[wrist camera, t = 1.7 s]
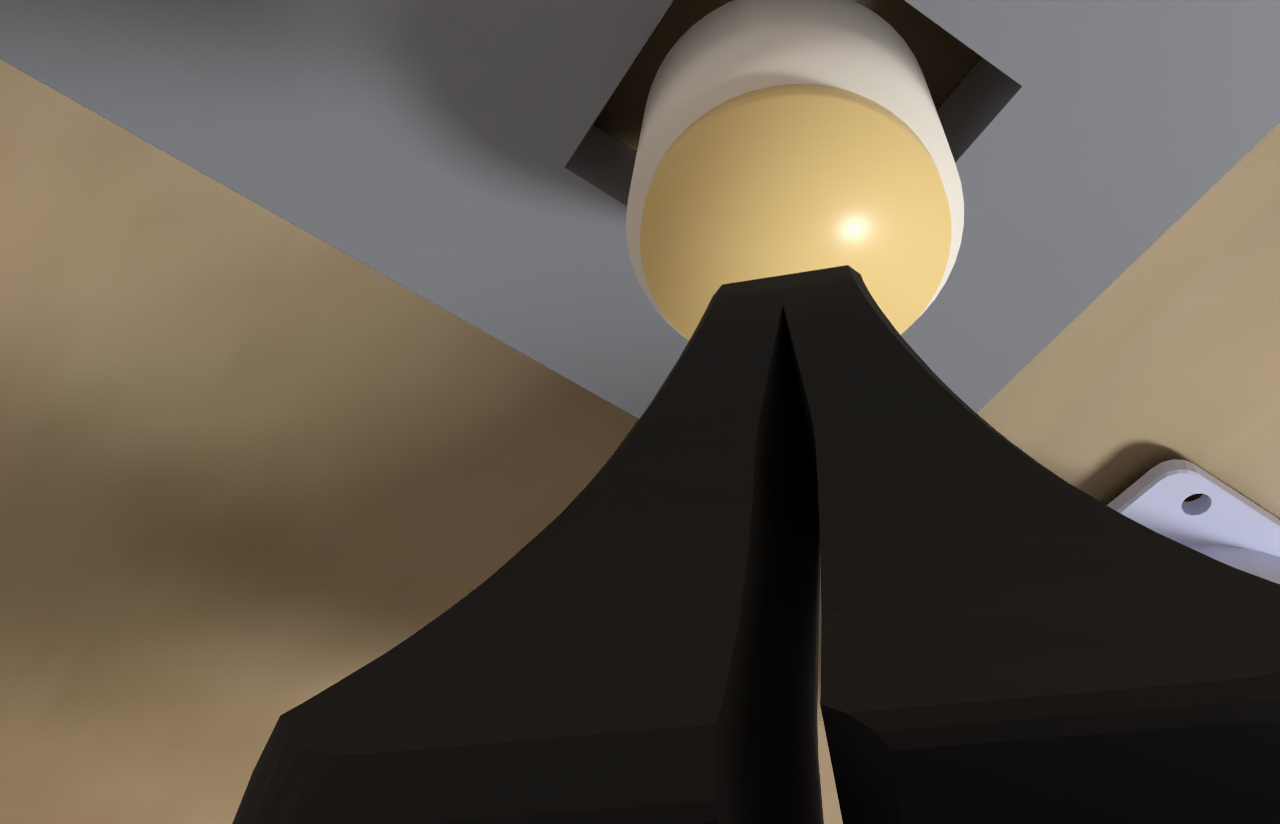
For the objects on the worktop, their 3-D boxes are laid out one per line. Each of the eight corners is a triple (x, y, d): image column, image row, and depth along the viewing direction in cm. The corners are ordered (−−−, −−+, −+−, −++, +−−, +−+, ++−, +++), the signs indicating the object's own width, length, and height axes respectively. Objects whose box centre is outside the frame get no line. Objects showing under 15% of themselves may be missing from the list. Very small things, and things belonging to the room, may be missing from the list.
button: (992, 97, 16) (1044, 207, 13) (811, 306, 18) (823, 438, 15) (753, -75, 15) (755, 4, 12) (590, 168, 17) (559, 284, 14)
